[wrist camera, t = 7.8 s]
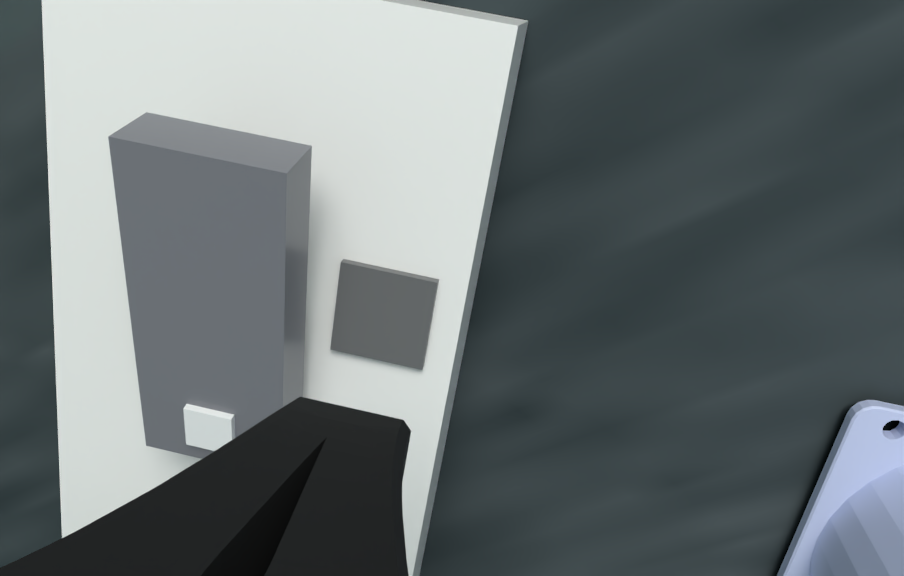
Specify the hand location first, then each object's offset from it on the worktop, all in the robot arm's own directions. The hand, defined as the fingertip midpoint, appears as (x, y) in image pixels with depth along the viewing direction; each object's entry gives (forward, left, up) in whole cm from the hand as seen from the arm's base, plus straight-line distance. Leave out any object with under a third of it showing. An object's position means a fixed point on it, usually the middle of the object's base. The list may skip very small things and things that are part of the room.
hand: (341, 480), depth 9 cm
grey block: (+4, +1, -5) cm, 7 cm away
